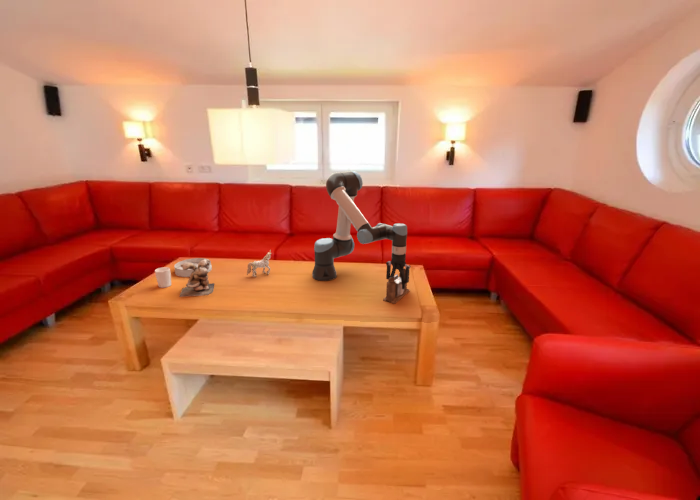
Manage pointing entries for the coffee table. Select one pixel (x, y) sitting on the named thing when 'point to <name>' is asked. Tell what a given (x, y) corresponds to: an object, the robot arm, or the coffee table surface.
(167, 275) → the white cup
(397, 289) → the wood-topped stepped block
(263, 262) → the unicorn figurine
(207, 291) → the cherub figurine
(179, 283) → the coffee table surface
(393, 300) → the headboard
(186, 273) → the dish
